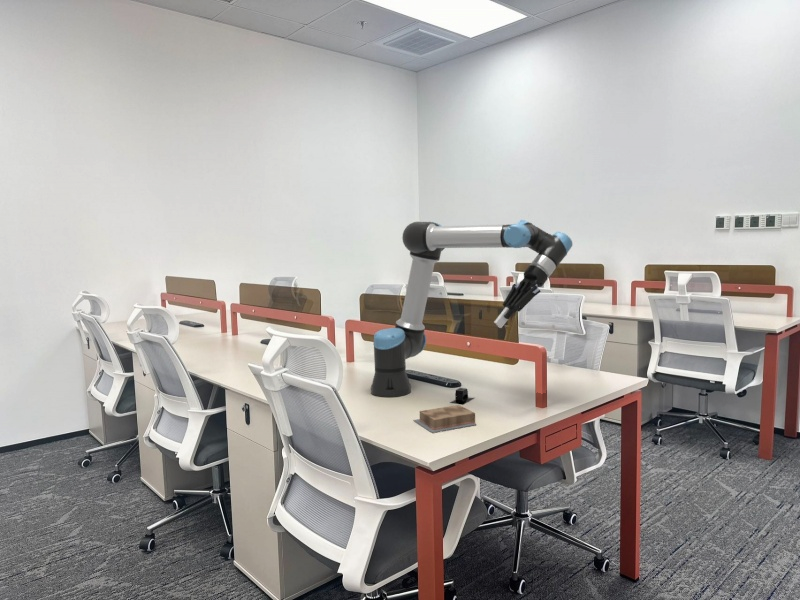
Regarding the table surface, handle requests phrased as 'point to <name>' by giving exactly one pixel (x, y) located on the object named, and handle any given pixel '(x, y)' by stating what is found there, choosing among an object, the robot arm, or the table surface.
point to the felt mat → (443, 428)
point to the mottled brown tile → (447, 417)
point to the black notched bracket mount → (461, 397)
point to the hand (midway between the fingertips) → (497, 325)
